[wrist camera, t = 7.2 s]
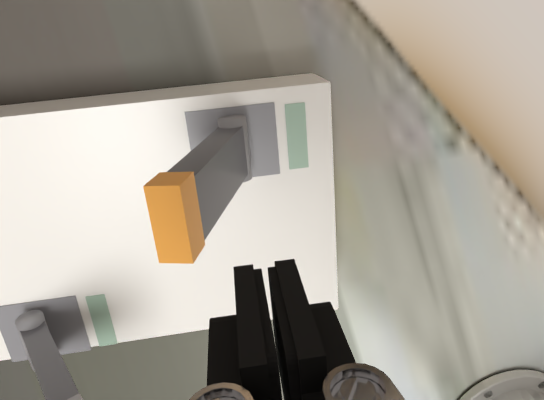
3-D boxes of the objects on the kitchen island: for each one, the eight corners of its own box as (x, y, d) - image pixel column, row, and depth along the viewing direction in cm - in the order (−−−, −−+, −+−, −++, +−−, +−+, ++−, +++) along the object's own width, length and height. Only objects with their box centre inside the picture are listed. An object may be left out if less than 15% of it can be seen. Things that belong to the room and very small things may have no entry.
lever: (39, 306, 29) (89, 407, 21) (54, 350, 30) (107, 461, 22) (12, 317, 28) (53, 426, 20) (29, 362, 30) (74, 481, 21)
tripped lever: (248, 114, 26) (181, 180, 16) (254, 173, 27) (196, 268, 17) (221, 115, 26) (139, 181, 16) (229, 174, 27) (157, 267, 18)
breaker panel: (312, 72, 31) (330, 82, 26) (322, 275, 37) (338, 312, 32) (-56, 111, 29) (-107, 129, 24) (20, 319, 35) (-10, 365, 30)
